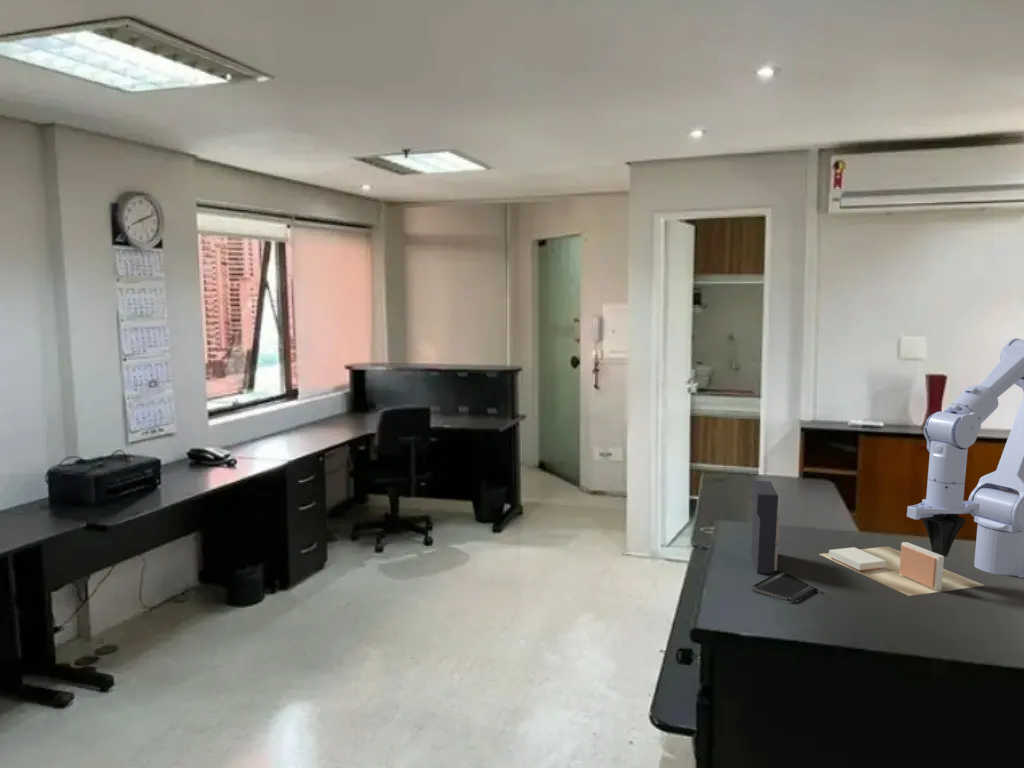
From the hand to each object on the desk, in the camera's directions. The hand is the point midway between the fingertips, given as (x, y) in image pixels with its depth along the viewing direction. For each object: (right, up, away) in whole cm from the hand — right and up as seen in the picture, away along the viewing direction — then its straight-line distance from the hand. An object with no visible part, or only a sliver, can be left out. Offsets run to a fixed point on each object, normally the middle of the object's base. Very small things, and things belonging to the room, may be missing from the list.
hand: (939, 555), depth 138 cm
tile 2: (-4, -5, -1) cm, 6 cm away
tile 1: (-8, -2, +9) cm, 13 cm away
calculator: (-29, -4, +9) cm, 30 cm away
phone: (-27, -6, -2) cm, 28 cm away
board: (-5, -5, +6) cm, 9 cm away
